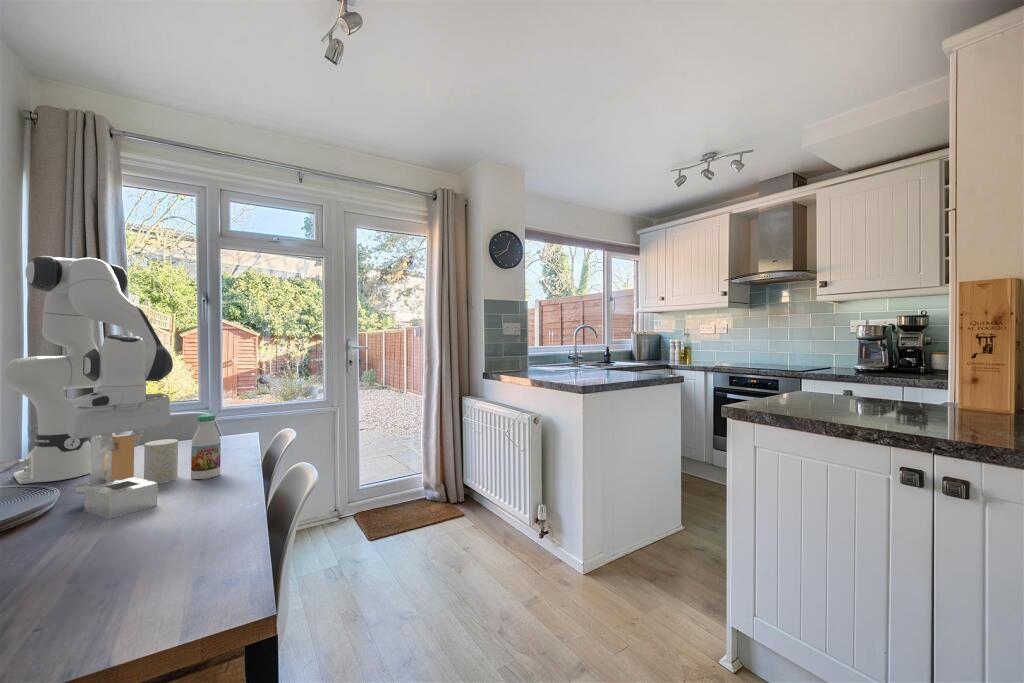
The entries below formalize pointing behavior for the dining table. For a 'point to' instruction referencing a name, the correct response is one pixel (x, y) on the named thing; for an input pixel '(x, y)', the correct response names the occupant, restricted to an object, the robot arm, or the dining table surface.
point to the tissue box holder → (113, 487)
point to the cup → (161, 460)
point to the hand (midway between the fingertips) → (122, 448)
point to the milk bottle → (205, 449)
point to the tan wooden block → (123, 457)
